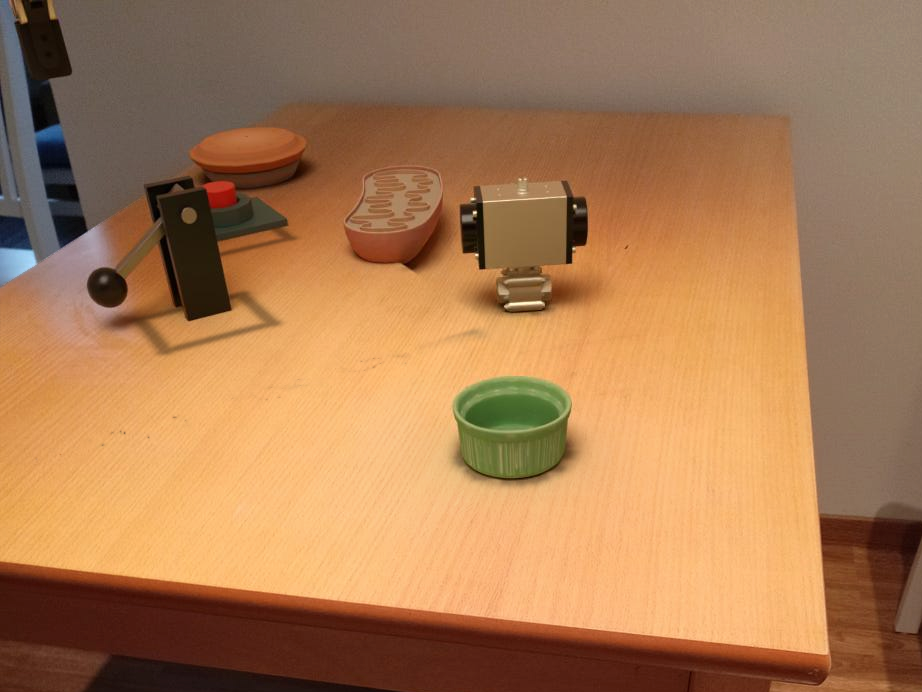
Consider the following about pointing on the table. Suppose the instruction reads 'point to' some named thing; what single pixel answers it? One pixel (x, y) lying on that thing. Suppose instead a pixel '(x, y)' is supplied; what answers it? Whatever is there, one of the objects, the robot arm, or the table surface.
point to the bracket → (189, 248)
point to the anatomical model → (395, 213)
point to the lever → (123, 268)
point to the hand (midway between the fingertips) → (51, 75)
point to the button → (221, 194)
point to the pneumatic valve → (523, 236)
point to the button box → (245, 218)
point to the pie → (250, 156)
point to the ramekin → (512, 425)
